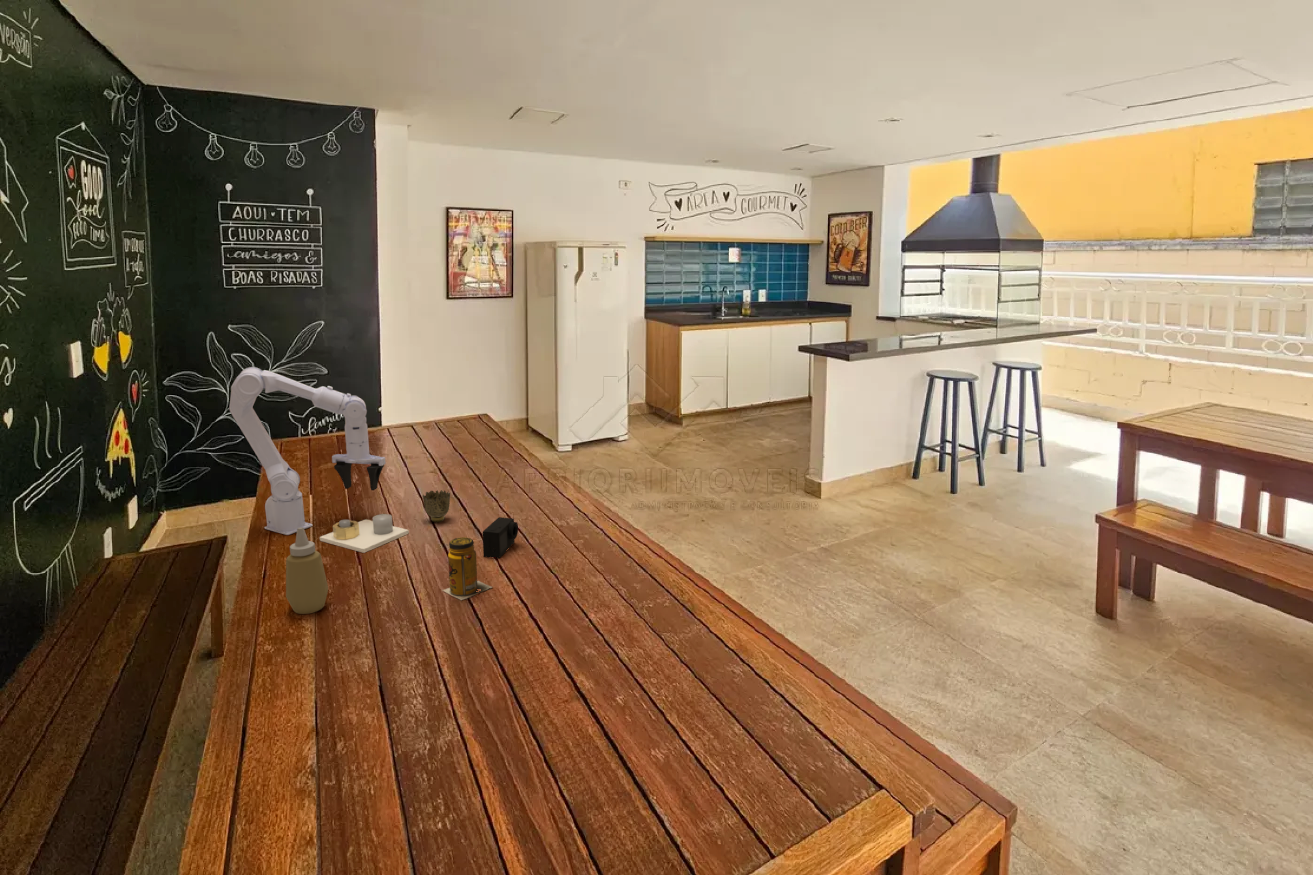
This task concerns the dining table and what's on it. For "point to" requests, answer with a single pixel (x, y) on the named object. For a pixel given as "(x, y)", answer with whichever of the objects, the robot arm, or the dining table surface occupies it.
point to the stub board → (368, 534)
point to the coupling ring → (346, 531)
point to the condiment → (463, 569)
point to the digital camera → (499, 537)
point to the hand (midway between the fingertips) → (361, 488)
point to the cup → (437, 504)
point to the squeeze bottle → (305, 576)
